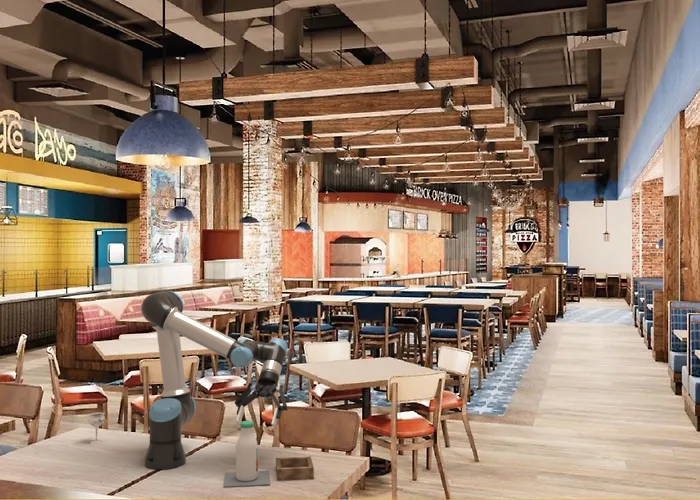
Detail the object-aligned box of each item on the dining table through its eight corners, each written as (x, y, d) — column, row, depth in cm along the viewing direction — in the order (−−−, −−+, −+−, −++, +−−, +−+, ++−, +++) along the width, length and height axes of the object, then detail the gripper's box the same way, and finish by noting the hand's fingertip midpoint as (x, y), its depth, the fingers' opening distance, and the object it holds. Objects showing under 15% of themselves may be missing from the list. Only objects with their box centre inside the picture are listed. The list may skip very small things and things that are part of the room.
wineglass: (84, 444, 286) (84, 415, 286) (93, 439, 293) (93, 411, 293) (99, 445, 285) (99, 416, 285) (108, 440, 292) (108, 412, 292)
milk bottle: (253, 482, 241) (253, 425, 240) (232, 481, 242) (232, 424, 242) (260, 475, 248) (260, 419, 248) (240, 473, 250) (240, 418, 249)
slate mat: (223, 487, 237) (223, 486, 237) (225, 473, 251) (225, 472, 251) (270, 485, 239) (270, 484, 239) (269, 471, 253) (269, 470, 253)
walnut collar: (277, 480, 244) (277, 469, 244) (275, 468, 257) (275, 457, 257) (313, 479, 246) (313, 467, 246) (310, 467, 259) (310, 456, 259)
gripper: (302, 382, 265) (290, 432, 251) (242, 378, 271) (226, 427, 257) (298, 371, 260) (285, 421, 246) (236, 367, 265) (220, 416, 251)
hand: (255, 424), depth 251 cm, fingers open, 13 cm apart
